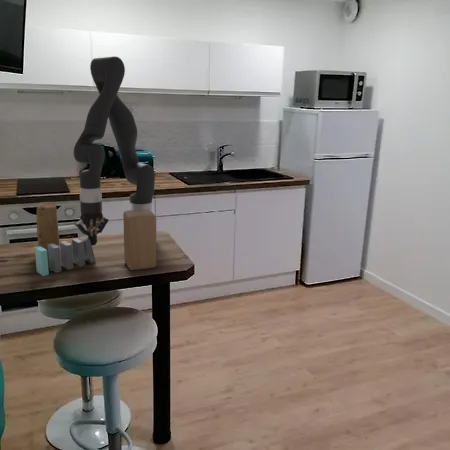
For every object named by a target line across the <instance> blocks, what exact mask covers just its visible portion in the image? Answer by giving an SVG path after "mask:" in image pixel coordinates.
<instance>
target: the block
mask: <svg viewBox="0 0 450 450" xmlns="http://www.w3.org/2000/svg"><path fill="white" fill-rule="evenodd" d="M36 232H37V244H38V245H37V247H39V246H41V247H43V248H44V249H46V250H47V258H48V259H49V257H48V244H55V245H57V246H59V247H60V235H59V234H60V233H59V232H60V231H59V221H58V211H57V204H56V203H55V202H54V201H44V202H39V203H38V204H37V207H36Z"/></svg>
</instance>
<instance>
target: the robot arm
mask: <svg viewBox="0 0 450 450" xmlns="http://www.w3.org/2000/svg"><path fill="white" fill-rule="evenodd" d="M89 66H90V68H89V69H90V74H91V77H92V79H93V80H92V81H93V83H94V85H95V87H96V89H97V91H98V93H99V95H98V96H97V97H96V99H95V101H94V102H93V103H92V105H91V107H90V108H89V110H88V112H87V116H86V119H85V124H84V128H83V131H82V132H81V134H80V135H79V137H78V139H77V141H76V142H75V144H74V147H73V157H74V160H75V161H76V162H77V163H80V164H89V168H88V169H83V170H82V171H80V173H79V203H80V205H79V206H80V217H79V220H78V221H77V222H74V226H75V227H76V228H77V229H78V230H79V231H80V233H82V234H83V235H85V236H86V237H87V239H89V240H90V242H91V245H92V247H93V246H96V245H97V244H98V234H102V232H103V230H104V229H105V227H106V226H107V224H108V223H109V218H106V217H105V216H104V215H103V214H104V213H103V212H102V211H103V200H102V199H103V198H102V197H103V196H102V188H101V175H102V170H103V166H104V161H105V158H106V157H105V156H106V154H105V150H104V148H103V147H102V146H101V144H96V143H94V142H95V141H98V140H101V139H103V137H104V136H105V133H106V129H107V124H108V121H109V125H110V127H111V131H112V133H113V136H114V139H115V141H116V144H117V148H118V152H119V155H120V158H121V163H122V169H123V171H124V172H123V173H124V177H125V179H126V181H127V182H129V184H131V185H135V186H136V188H135V189H136V191H135V192H133V193H131V194H130V195H129V211H131V210H146V209H148V210H150V211H151V212H152V213H153V198H154V194H155V180H156V179H155V178H156V177H155V175H156V174H155V170H154V168H153V167H152V165H150V164H147V163H144V162H143V163H141V161H139V157H138V155H137V150H136V144H137V140H138V139H137V138H138V128H137V124H136V120H135V118H134V115H133V113H132V112H131V109H129V107H128V106H127V105H126V104H125V102H123V101H122V99H121V98H120V97H119V95H118V93H119V90H120V87H122V86H121V85H122V82H123V81H124V78H125V74H126V67H125V64H124V62H123V60H122V59H121V58H120V57H119V56H116V55H109V56H108V55H107V56H98V57H94V58H93V59H92V60H91V61H90V65H89ZM84 225H85V227H84Z"/></svg>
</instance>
